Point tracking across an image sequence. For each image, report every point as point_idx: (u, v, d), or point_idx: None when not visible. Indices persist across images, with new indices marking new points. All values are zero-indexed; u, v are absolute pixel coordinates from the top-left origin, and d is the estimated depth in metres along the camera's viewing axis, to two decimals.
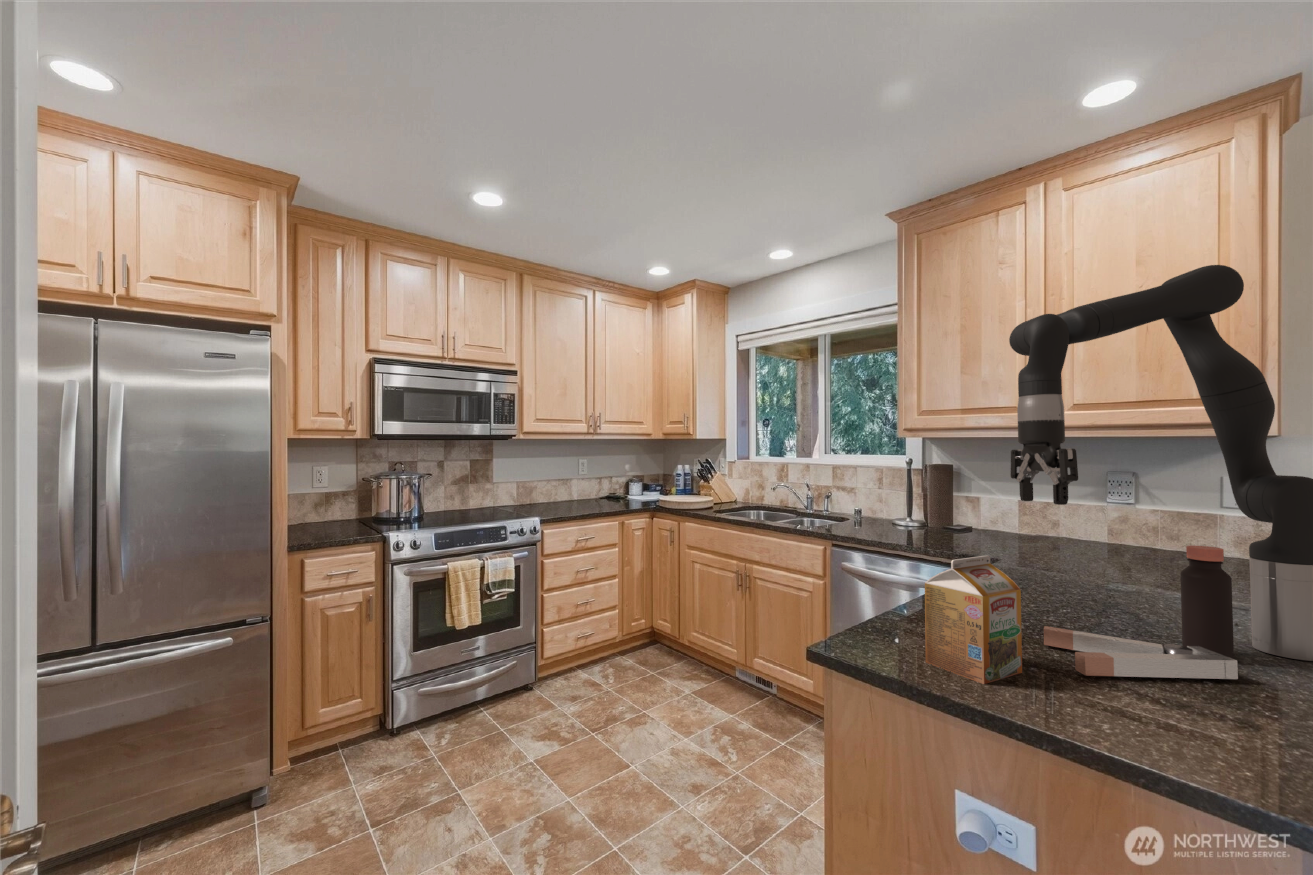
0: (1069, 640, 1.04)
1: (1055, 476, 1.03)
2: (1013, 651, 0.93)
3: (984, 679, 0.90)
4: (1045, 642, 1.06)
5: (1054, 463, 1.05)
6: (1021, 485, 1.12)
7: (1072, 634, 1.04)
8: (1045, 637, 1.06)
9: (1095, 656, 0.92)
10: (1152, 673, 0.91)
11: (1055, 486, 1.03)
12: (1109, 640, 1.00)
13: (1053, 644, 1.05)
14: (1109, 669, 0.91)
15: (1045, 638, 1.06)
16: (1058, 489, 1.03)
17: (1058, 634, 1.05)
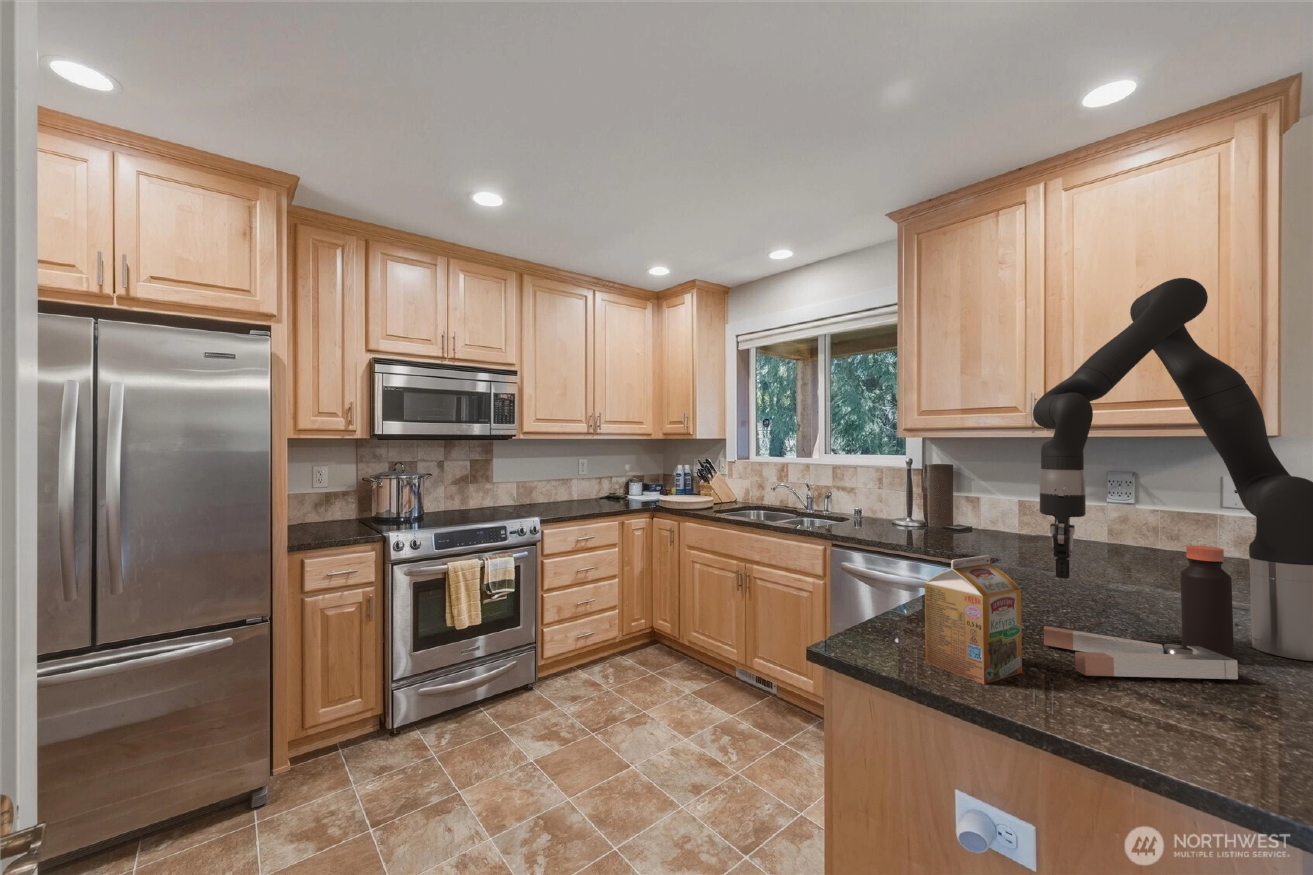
0: (1069, 640, 1.04)
1: None
2: (1013, 651, 0.93)
3: (984, 679, 0.90)
4: (1045, 642, 1.06)
5: None
6: None
7: (1072, 634, 1.04)
8: (1045, 637, 1.06)
9: (1095, 656, 0.92)
10: (1152, 673, 0.91)
11: None
12: (1109, 640, 1.00)
13: (1053, 644, 1.05)
14: (1109, 669, 0.91)
15: (1045, 638, 1.06)
16: None
17: (1058, 634, 1.05)
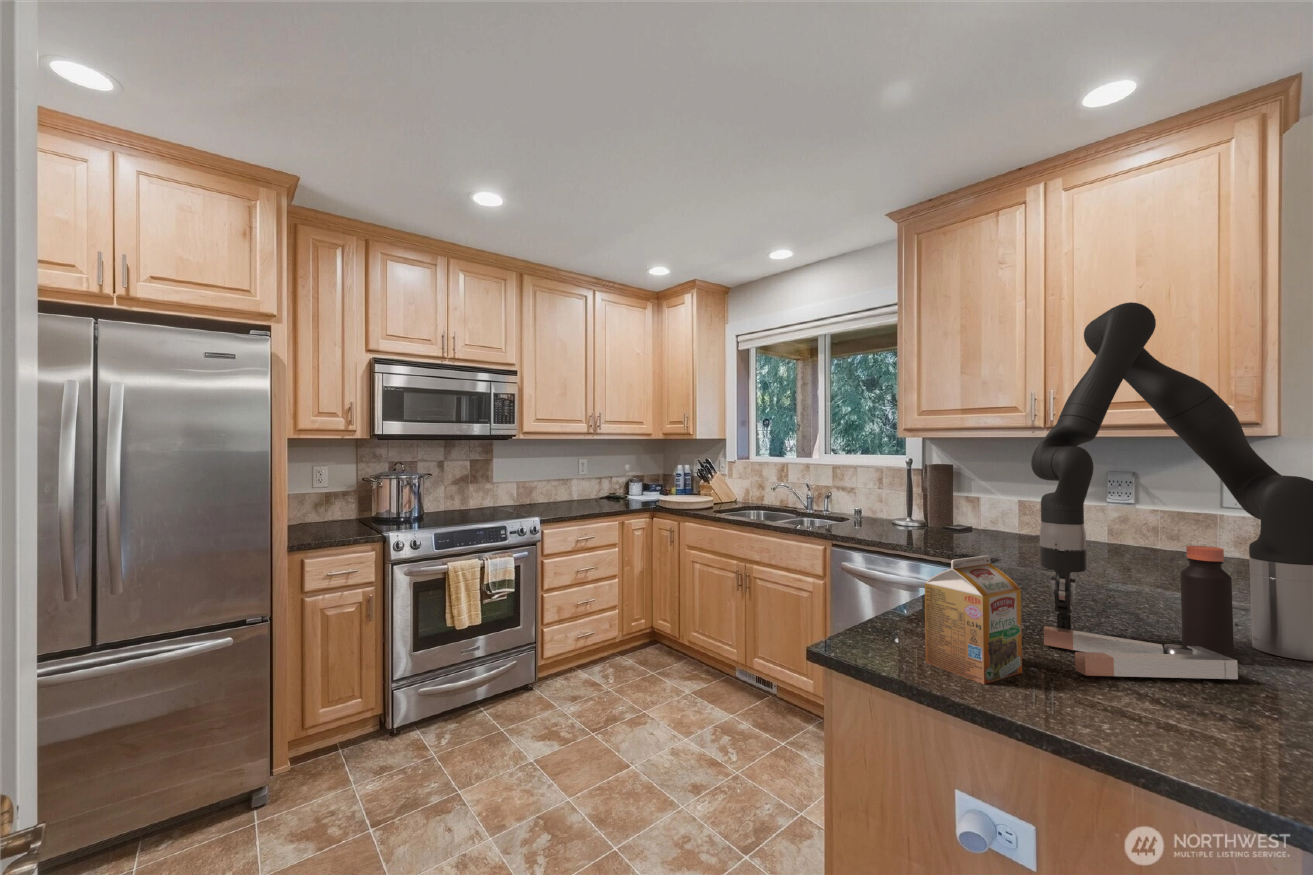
0: (1069, 640, 1.04)
1: None
2: (1013, 651, 0.93)
3: (984, 679, 0.90)
4: (1045, 642, 1.06)
5: None
6: (1070, 617, 1.10)
7: (1072, 634, 1.04)
8: (1045, 637, 1.06)
9: (1095, 656, 0.92)
10: (1152, 673, 0.91)
11: None
12: (1109, 640, 1.00)
13: (1053, 644, 1.05)
14: (1109, 669, 0.91)
15: (1045, 638, 1.06)
16: None
17: (1058, 634, 1.05)
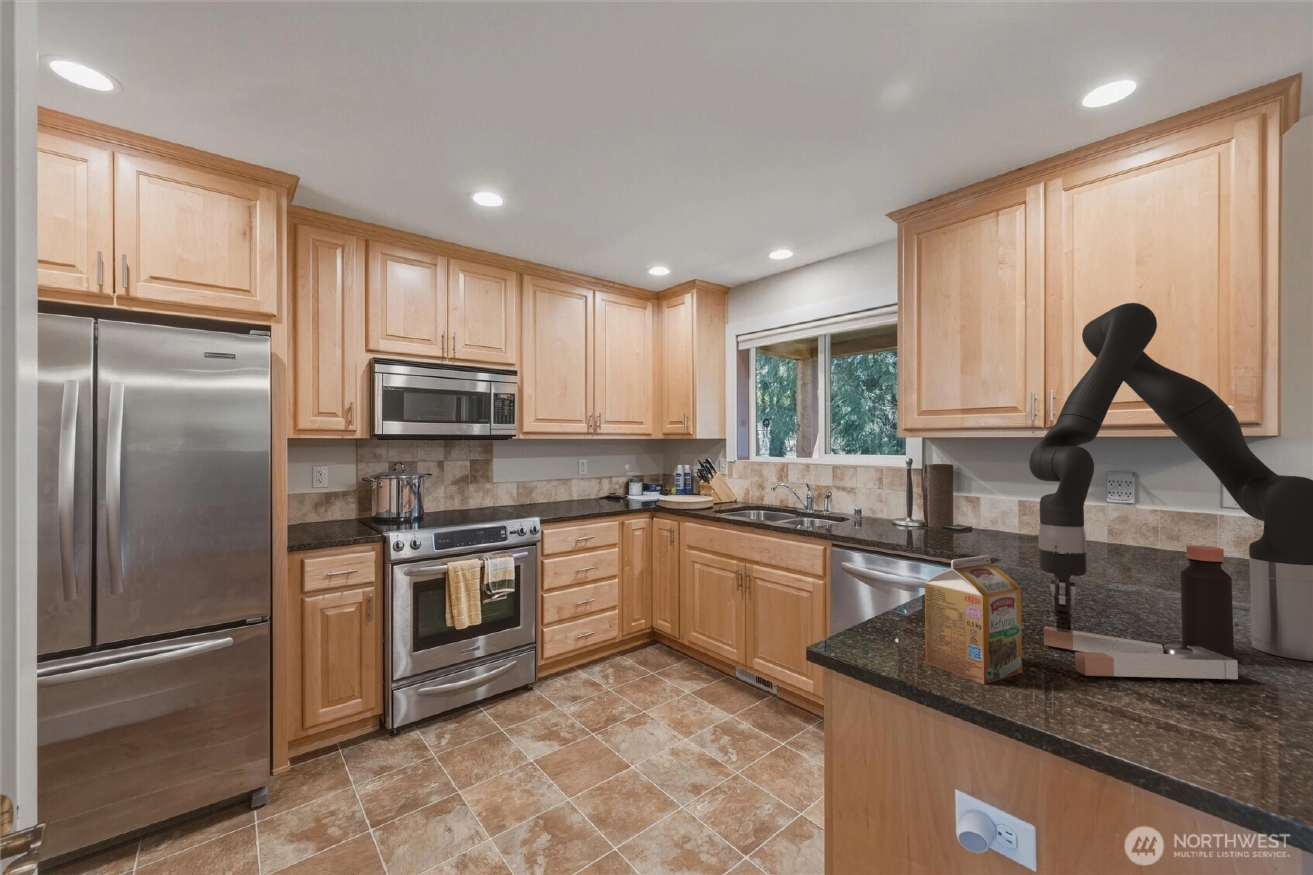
0: (1069, 640, 1.04)
1: None
2: (1013, 651, 0.93)
3: (984, 679, 0.90)
4: (1045, 642, 1.06)
5: None
6: (1070, 622, 1.07)
7: (1072, 634, 1.04)
8: (1045, 637, 1.06)
9: (1095, 656, 0.92)
10: (1152, 673, 0.91)
11: None
12: (1109, 640, 1.00)
13: (1053, 644, 1.05)
14: (1109, 669, 0.91)
15: (1045, 638, 1.06)
16: None
17: (1058, 634, 1.05)
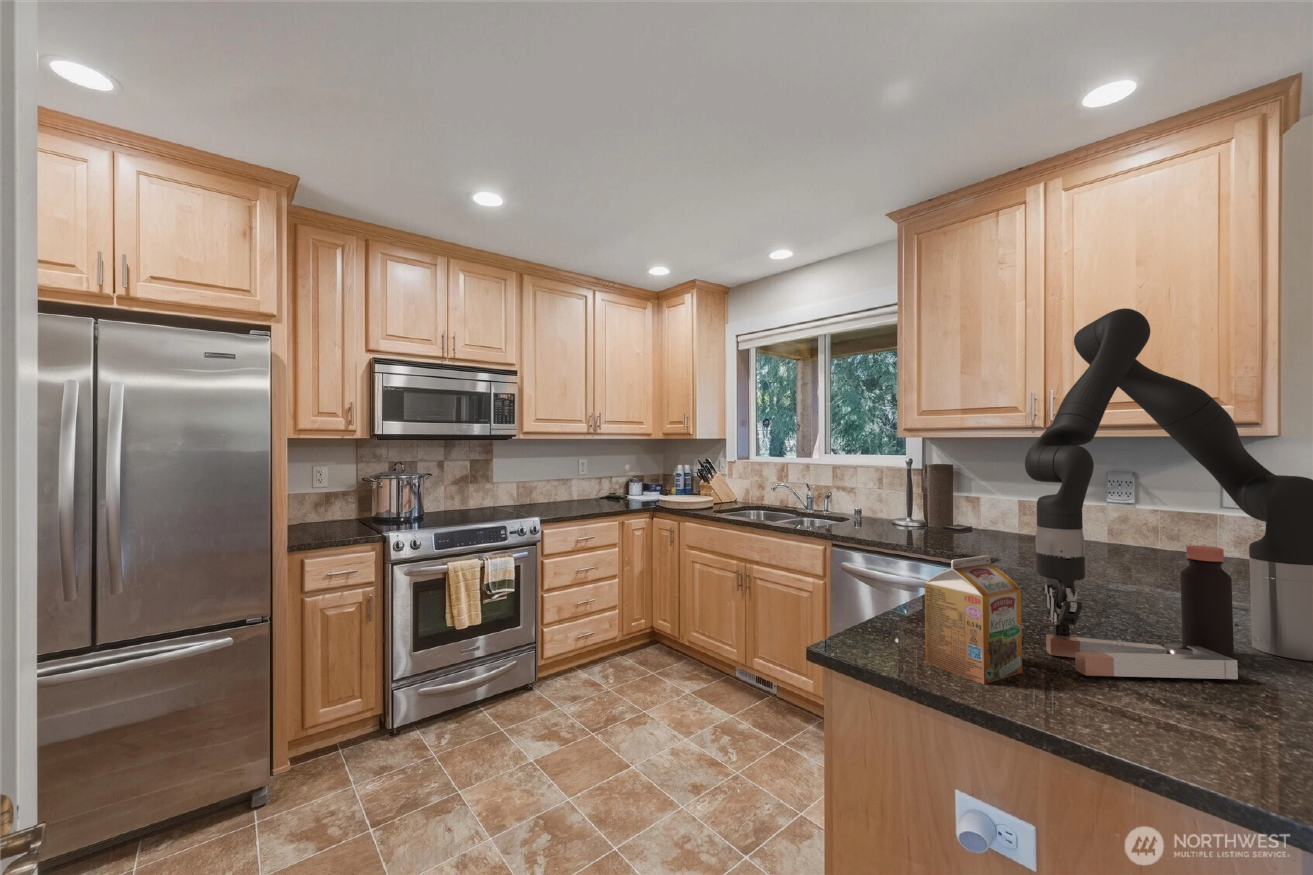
0: (1076, 648, 1.00)
1: None
2: (1013, 651, 0.93)
3: (984, 679, 0.90)
4: (1052, 652, 1.01)
5: None
6: None
7: (1079, 642, 1.00)
8: (1052, 647, 1.01)
9: (1095, 656, 0.92)
10: (1152, 673, 0.91)
11: None
12: (1116, 645, 0.98)
13: (1060, 653, 1.00)
14: (1109, 669, 0.91)
15: (1052, 648, 1.01)
16: None
17: (1065, 643, 1.00)
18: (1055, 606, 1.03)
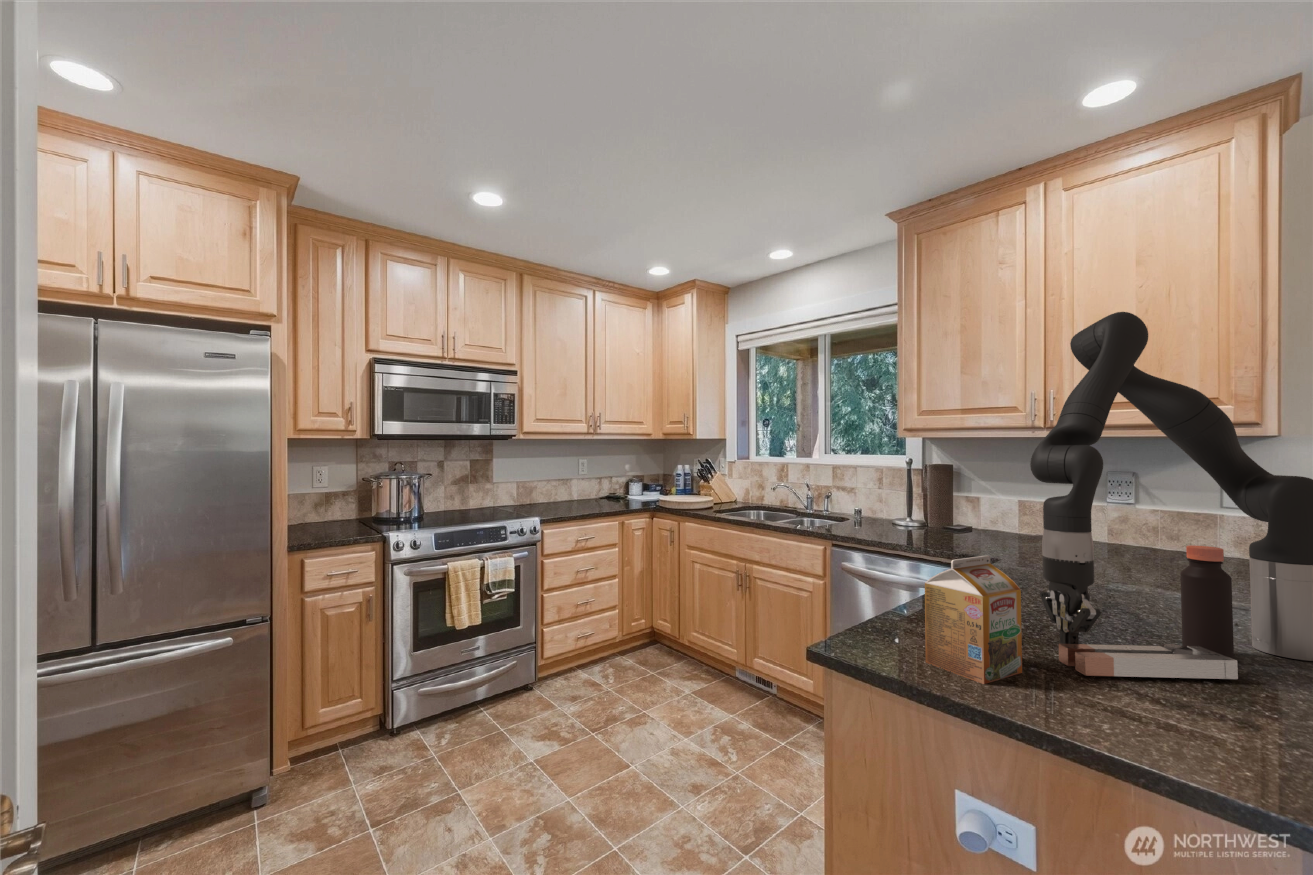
0: None
1: None
2: (1013, 651, 0.93)
3: (984, 679, 0.90)
4: (1069, 663, 0.96)
5: None
6: None
7: (1094, 649, 0.95)
8: (1069, 657, 0.96)
9: (1095, 656, 0.92)
10: (1152, 673, 0.91)
11: None
12: (1127, 650, 0.95)
13: None
14: (1109, 669, 0.91)
15: (1069, 658, 0.96)
16: None
17: None
18: (1066, 613, 0.98)
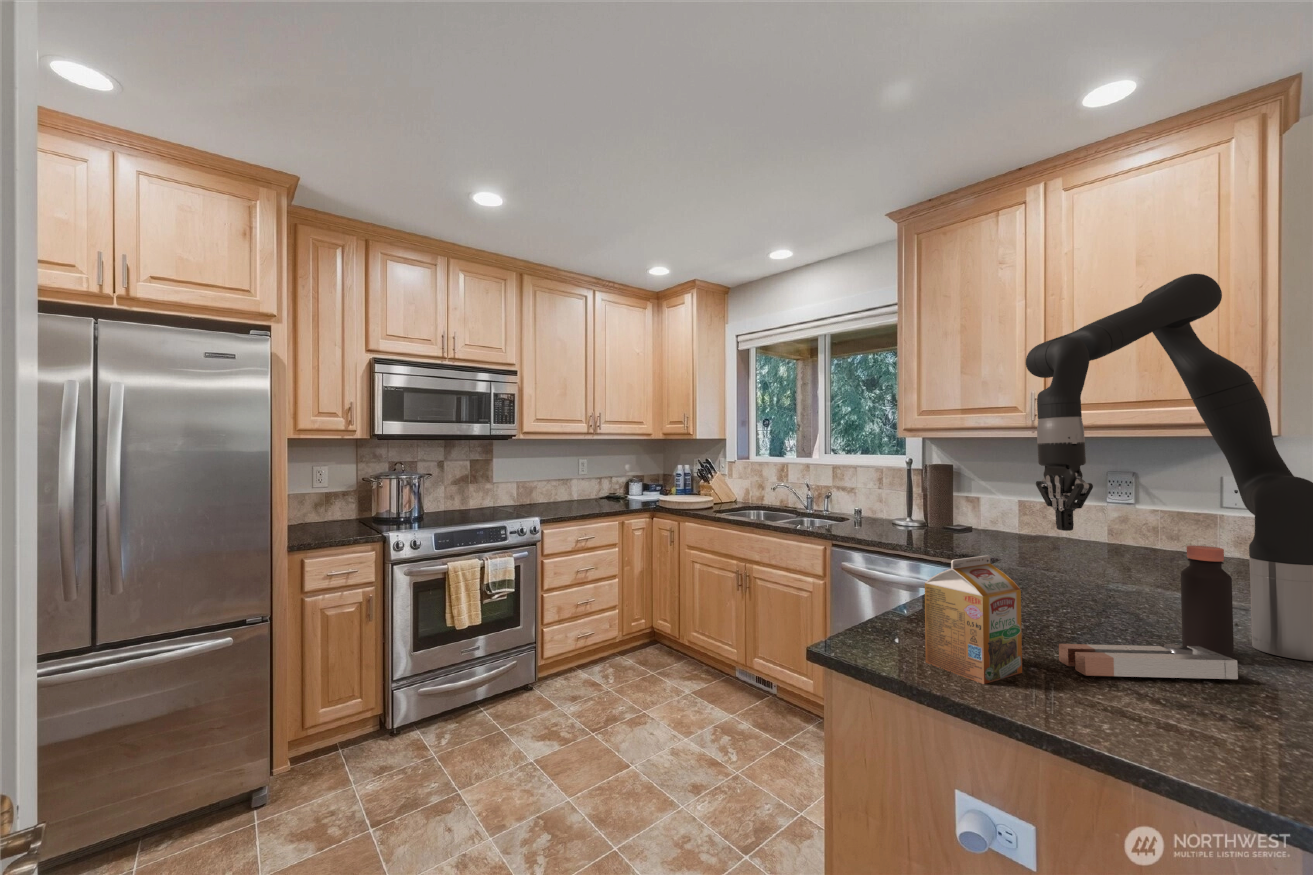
0: None
1: None
2: (1013, 651, 0.93)
3: (984, 679, 0.90)
4: (1069, 663, 0.96)
5: None
6: None
7: (1094, 650, 0.95)
8: (1069, 657, 0.96)
9: (1095, 656, 0.92)
10: (1152, 673, 0.91)
11: None
12: (1127, 650, 0.95)
13: None
14: (1109, 669, 0.91)
15: (1069, 658, 0.96)
16: None
17: None
18: (1061, 493, 1.07)
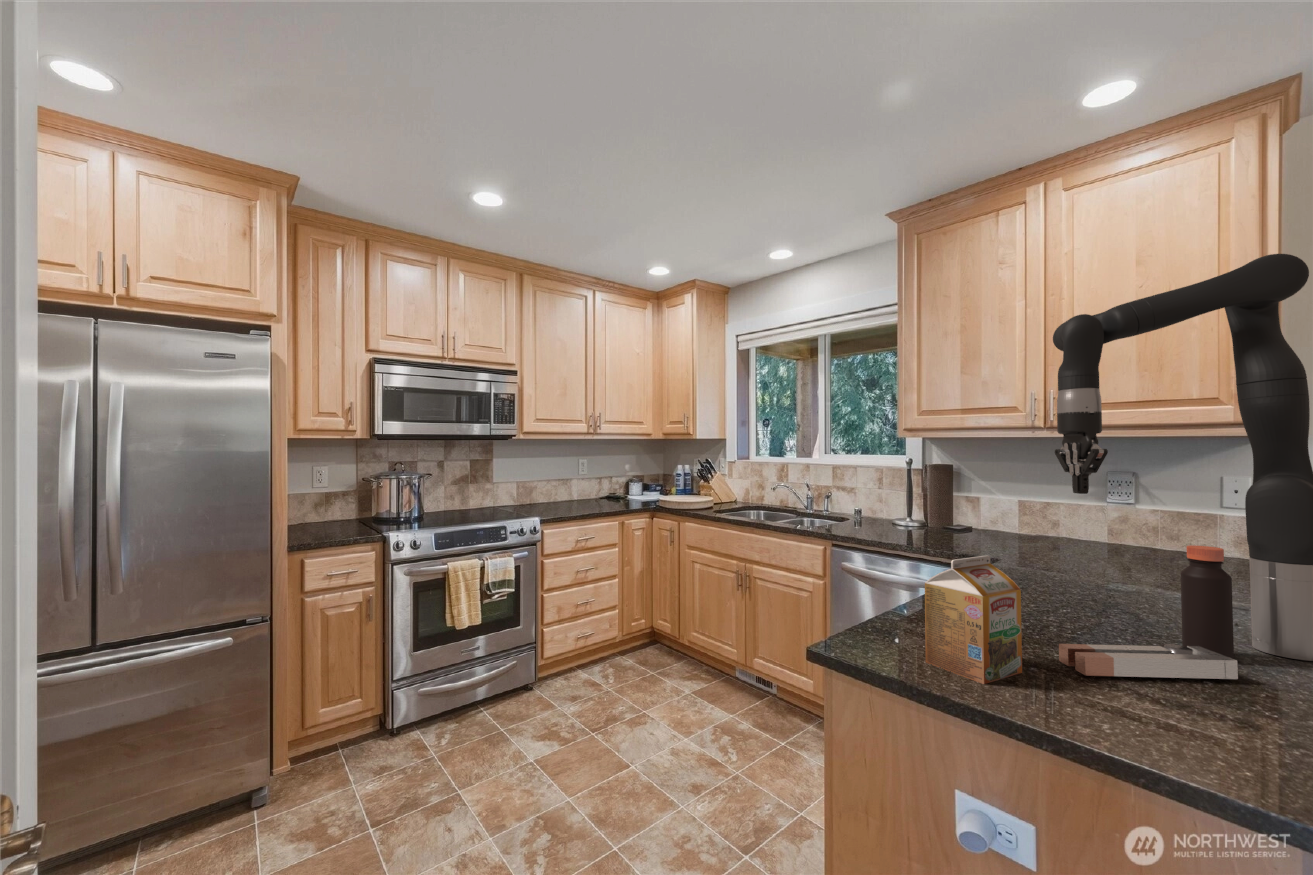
0: None
1: None
2: (1013, 651, 0.93)
3: (984, 679, 0.90)
4: (1069, 663, 0.96)
5: None
6: None
7: (1094, 650, 0.95)
8: (1069, 657, 0.96)
9: (1095, 656, 0.92)
10: (1152, 673, 0.91)
11: None
12: (1127, 650, 0.95)
13: None
14: (1109, 669, 0.91)
15: (1069, 658, 0.96)
16: None
17: None
18: (1078, 458, 1.15)
